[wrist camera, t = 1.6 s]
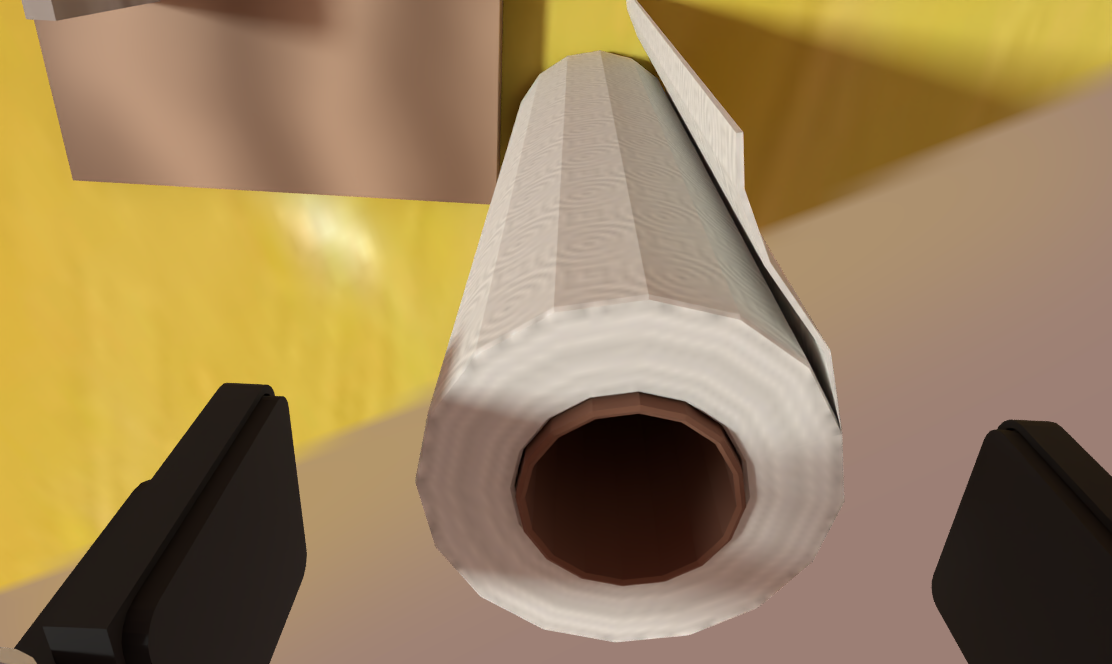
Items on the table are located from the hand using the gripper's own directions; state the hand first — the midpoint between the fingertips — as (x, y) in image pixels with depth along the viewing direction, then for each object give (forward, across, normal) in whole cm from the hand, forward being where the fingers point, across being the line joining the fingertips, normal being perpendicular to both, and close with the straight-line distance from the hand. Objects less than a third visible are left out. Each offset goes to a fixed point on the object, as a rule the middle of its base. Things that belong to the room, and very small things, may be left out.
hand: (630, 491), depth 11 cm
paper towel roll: (+22, -1, 0) cm, 22 cm away
